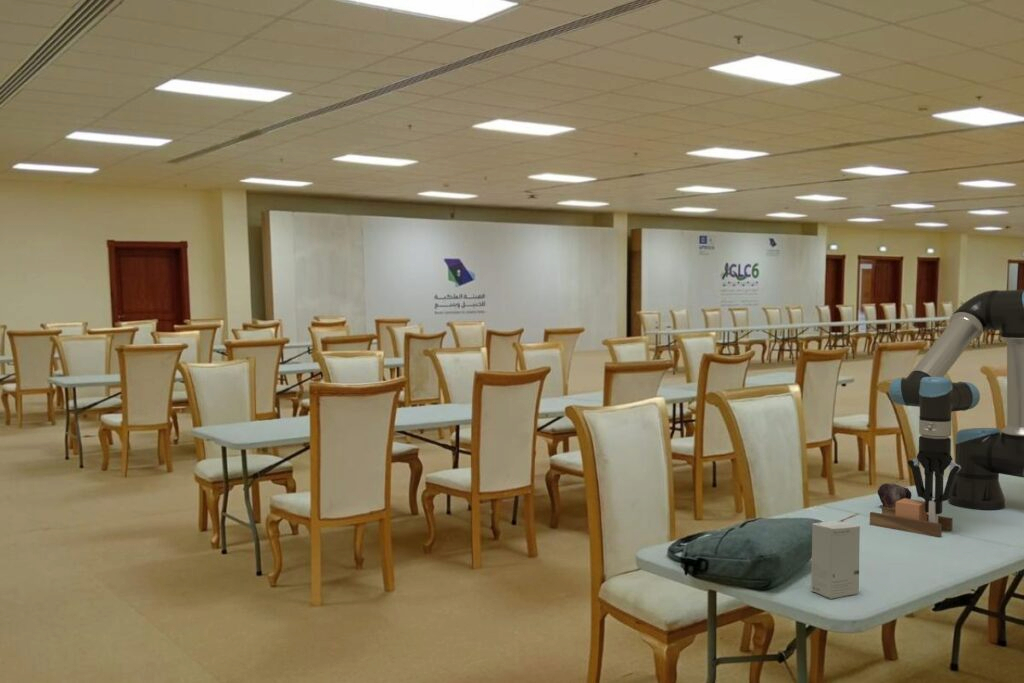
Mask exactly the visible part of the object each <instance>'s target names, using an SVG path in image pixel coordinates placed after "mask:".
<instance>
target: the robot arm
mask: <svg viewBox="0 0 1024 683" xmlns="http://www.w3.org/2000/svg"><path fill="white" fill-rule="evenodd" d="M992 330H993V331H1000V338H1001V340H1003V341H1004V342H1005V343H1006V382H1007V383H1006V411H1007V412H1006V415H1007V416H1006V418H1007V419H1006V420H1007V422H1006V425H1005V427H1004V428H1002V429H1001V430H1000V428H997V427H972V428H964V429H959V430H958V431H957V432H956V435H955V436H956V437H955V443H954V445H955V451H954V452H955V453H954V454H955V457H954V458H955V460H953V457H952V453H951V451H952V449H951V448H952V444H951V443H952V439H951V438H950V436H952V413H953V412H960V411H963V412H965V411H968V410H971V409H974V408H975V407H977V405H978V404H979V403H980V397H981V394H980V391H979V389H978V387H977V386H976V385H975V384H973V383H971V382H967V381H966V382H965V381H958V382H953V381H952V379H951V377H946V375H947V373H948V372H949V370H950V369H952V367H953V366H954V365H955V363H956V362H957V361H958V360H959V358H960V356H961V355H962V354H963V352H965V350H966V349H967V348H968V347H969V345H970V343H971V342H972V341H973V340H974V339H977V338H978V339H979V337H981V336H982V335H983V333H984V332H989V331H992ZM888 388H889V390H888V391H889V392H888V394H889V397H890V400H891V401H892V402H893V403H894V404H897V405H901V406H905V407H909V406H910V407H919V416H918V417H919V419H918V420H919V421H918V423H919V424H918V425H919V427H918V434H919V435H920V436H919V437H918V453H917V454H916V457H914V458H912V459H909V460H907V464H908V466H909V467H910V469H911V473H912V476H913V481H914V486H915V490H916V495H917V497H918V498H922V499H924V501H925V511H926V512H927V514H929V522H933V523H938V516H939V515H942V513H943V502H945V501H946V502H948V503H949V502H950V503H949V504H950V505H953V504H954V506H957V507H962V508H967V509H973V510H986V511H987V510H991V511H992V510H1001V509H1004V508H1005V506H1006V500H1005V499H1006V498H1005V497H1004V496H1005V495H1004V493H1003V490H1002V489H1003V488H1002V487H1001V484H1000V481H999V480H1000V479H999V478H1000V477H999V476H1000V474H1001V475H1007V476H1012V477H1018V478H1022V479H1024V289H1015V290H1014V289H1013V290H1011V289H1010V290H1008V289H1007V290H997V289H996V290H994V289H993V290H988V291H987V290H986V291H984V292H981V293H978V294H977V295H975V296H972V297H971V298H969V299H968V300H967V301H966V302H964V303H963V304H961V305H960V306H959V307H958V308H957V309H956V310H955V311H954V312H953V313H952V314H951V315H950V317H949V324H948V325H947V327H946V328H945V329H944V330H943V331H942V333H941V334H940V335H939V337H938V338H937V339H936V340H935V342H934V343H933V344H932V345H931V347H930V348H929V349H928V351H927V352H925V354H924V356H922V358H921V359H920V361H918V362H917V364H916V365H915V367H914V368H913V369H912V370H911V372H910V373H909V374H908V375H907V377H898V378H894V379H893V380H892V381H891V382H890V385H889V387H888ZM920 465H921V467H922V468H923V470H924V471H923V472H924V473H923V474H924V481H923V476H922V472H921V468H920ZM948 467H949V473H948V476H947V481H946V484H945V486H944V475H945V470H947V468H948ZM934 482H935V483H934ZM944 487H945V488H944ZM933 489H934V490H933ZM933 492H934V495H933Z"/></svg>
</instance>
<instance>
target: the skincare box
mask: <svg viewBox="0 0 1024 683" xmlns="http://www.w3.org/2000/svg"><path fill="white" fill-rule="evenodd" d="M811 527H812V528H811V536H812V537H811V577H810V578H811V583H810V584H811V592H813V593H816V594H819V595H820V596H823V597H825V598H826V599H830V600H832V599H833V600H834V599H837V598H841V597H842V598H843V597H848V596H853V595H859V593H860V591H859V590H860V540H861V539H860V536H861V535H860V533H861V530H860V528H861V526H860V525H858V524H855V523H851V522H847V521H845V520H844V521H840V520H833V521H829V520H828V521H821V522H813V523H812V524H811Z"/></svg>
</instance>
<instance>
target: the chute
mask: <svg viewBox="0 0 1024 683" xmlns="http://www.w3.org/2000/svg"><path fill="white" fill-rule="evenodd" d="M895 511H896V509H894V508H888V507H884V506H883V507H881V512H873V511H871V512H869V526H874V527H880V528H885V529H890V530H896V531H901V532H906V533H910V534H911V533H912V534H917V535H923V536H928V537H935V538H940V539H941V537H942V531H945V532H953V530H954V529H953V528H954V527H953V523H954V521H953V520H954V519H953V517H947V516H941V515H938V523H933V522H929V513H927V521H922V520H916V519H910V518H904V517H898V516H895ZM858 515H859V513H854V514H852V515H850V516H847V517H846V518H843V519H840V520H839V521H844V522H845V521H847V520H848V519H851V518H853V517H856V516H858Z"/></svg>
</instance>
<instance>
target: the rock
mask: <svg viewBox="0 0 1024 683" xmlns="http://www.w3.org/2000/svg"><path fill="white" fill-rule="evenodd" d="M877 495H878V497H879V499H880V502H881V504H882V506H883V507H888V508H894V509H896V502H897V501H899V500H901V499H904V498H906V499H912V492H911V490H910V488H908V487H904V486H901V485H898V484H895V483H889V482H887V483H882V484H881V485H879V487H878V489H877Z"/></svg>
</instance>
